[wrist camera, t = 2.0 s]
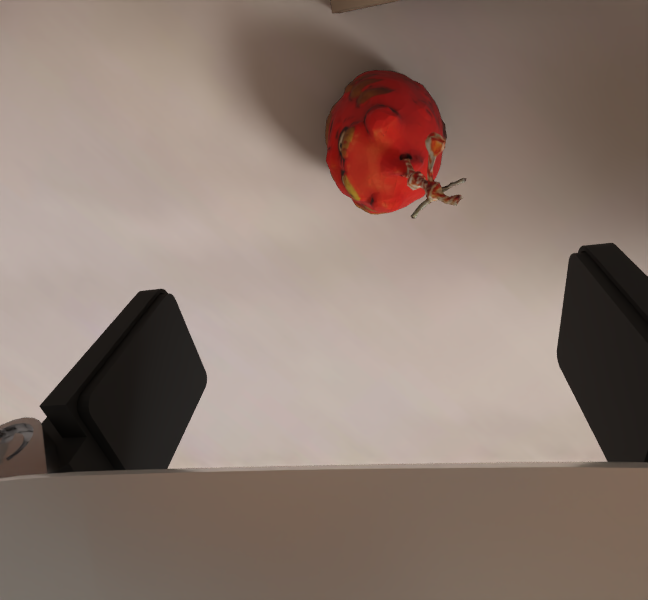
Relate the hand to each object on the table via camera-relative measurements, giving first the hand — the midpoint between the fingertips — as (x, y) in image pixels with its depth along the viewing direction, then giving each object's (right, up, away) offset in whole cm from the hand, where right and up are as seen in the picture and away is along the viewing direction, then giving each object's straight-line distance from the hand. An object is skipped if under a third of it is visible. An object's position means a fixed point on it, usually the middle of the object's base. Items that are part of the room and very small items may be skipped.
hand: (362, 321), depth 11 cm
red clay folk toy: (+3, +12, +18) cm, 22 cm away
